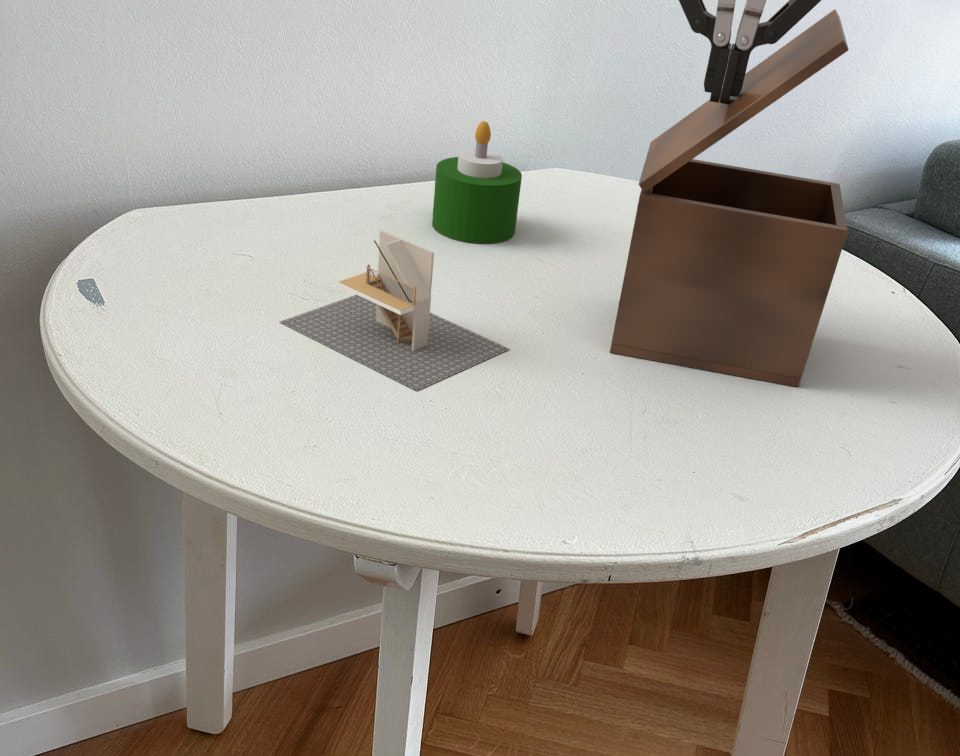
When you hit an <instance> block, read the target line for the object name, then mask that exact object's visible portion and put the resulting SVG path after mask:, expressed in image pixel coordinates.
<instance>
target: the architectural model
mask: <svg viewBox="0 0 960 756" xmlns="http://www.w3.org/2000/svg"><path fill="white" fill-rule="evenodd" d="M373 242H374V243H375V245H376V247H377V249H378V265H377V270H376V269H374V268H371V264H369V263H368V264H366V265H367V266H365V268H366V272H362V273H360V274H357V275H354V276H351V277H348V278H345V279H342V280H339V281H337V282H338V284H337V285H338V287H339V288H341V289H344V290H345V291H348V292H350V293H352V294H353V295H351V296H349V297H346V298H343V299H339V300H337V301H334V302H331V303H329V304H326V305H322V306H320V307H317V308H314V309H312V310H309V311H306V312H303V313H300V314H297V315H294V316H291V317H288V318H286V319H283V320H280V321H279V323H280V324H282V325H284V326H286V327H289V328H290V329H292V330H294V331H296V332H299V333H300V334H302V335H304V336H306V337H308V338H309V339H312V340H314V341H316V342H318V343H320V344H322V345H324V346H326V347H329V348H330V349H331V350H334V351H336V352H338V353H340V354H342V355H344V356H346V357H348V358H350V359H352V360H354V361H356V362H358V363H360V364H362V365H363V366H366V367H368V368H370V369H372V370H374V371H376V372H378V373H380V374H382V375H383V376H385V377H388V378H390V379H392V380H394V381H395V382H398V383H399V384H401V385H404V386H406V387H408V388H410V389H412V390H414V391H416V392H418V391H421V390H422V389H424V388H427V387H429V386H431V385H433V384H436V383H438V382H440V381H442V380H444V379H446V378H449V377H451V376H453V375H456V374H458V373H459V372H460V373H461V372H462V371H464V370H467V369H469V368H471V367H473V366H475V365H478V364H481V363H482V362H484V361H486V360H490V358H493V357H495V356H497V355H499V354H502V353H504V352H506V351H509V350H510V348H509V347H507V346H505V345H502V344H500V343H498V342H496V341H493V340H491V339H489V338H487V337H484V336H483V335H481V334H478V333H476V332H474V331H472V330H470V329H468V328H465V327H463V326H461V325H459V324H456V323H454V322H452V321H450V320H447V319H445V318H443V317H441V316H439V315H436V314H434V313H432V312H431V301H432V286H433V273H434V272H433V271H434V258H435V252H434V251H432V250H429V249H427V248H424V247H423V246H420V245H417V244H415V243H412V242H410V241H408V240H405V239H404V238H401V237H399V236H396V235H394V234H391V233H390V232H387V231H385V230H383V229H382V230H380V231H379V241H378V242H379V243H377V241H376V240H375V239H374V240H373Z"/></svg>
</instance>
